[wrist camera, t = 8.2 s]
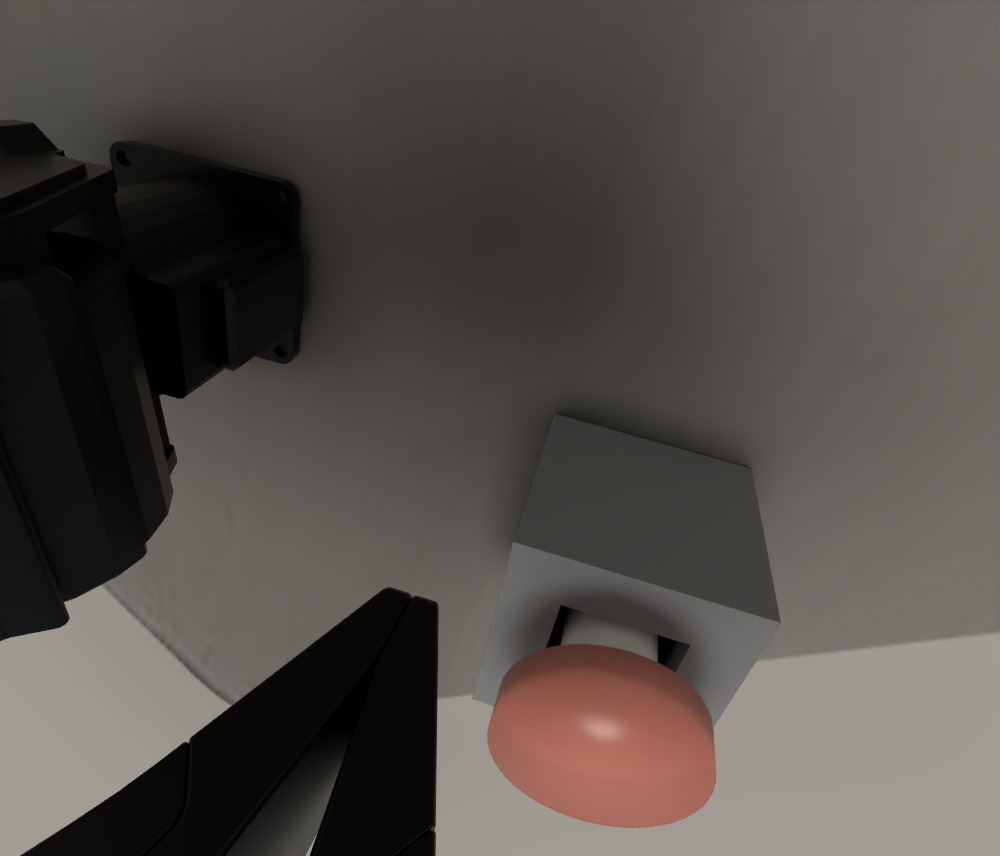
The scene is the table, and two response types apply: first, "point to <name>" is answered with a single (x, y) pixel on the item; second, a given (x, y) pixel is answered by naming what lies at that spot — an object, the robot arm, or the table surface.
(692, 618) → the button housing
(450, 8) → the table surface
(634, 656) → the red plunger
